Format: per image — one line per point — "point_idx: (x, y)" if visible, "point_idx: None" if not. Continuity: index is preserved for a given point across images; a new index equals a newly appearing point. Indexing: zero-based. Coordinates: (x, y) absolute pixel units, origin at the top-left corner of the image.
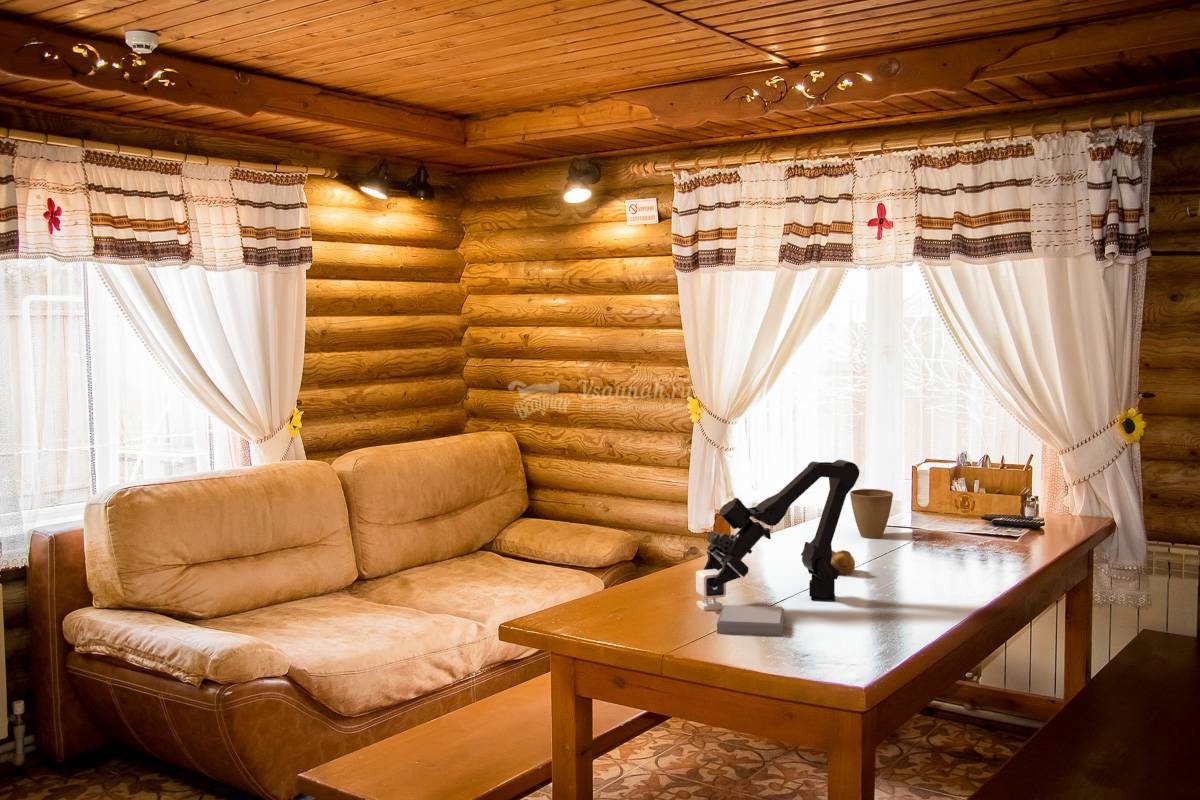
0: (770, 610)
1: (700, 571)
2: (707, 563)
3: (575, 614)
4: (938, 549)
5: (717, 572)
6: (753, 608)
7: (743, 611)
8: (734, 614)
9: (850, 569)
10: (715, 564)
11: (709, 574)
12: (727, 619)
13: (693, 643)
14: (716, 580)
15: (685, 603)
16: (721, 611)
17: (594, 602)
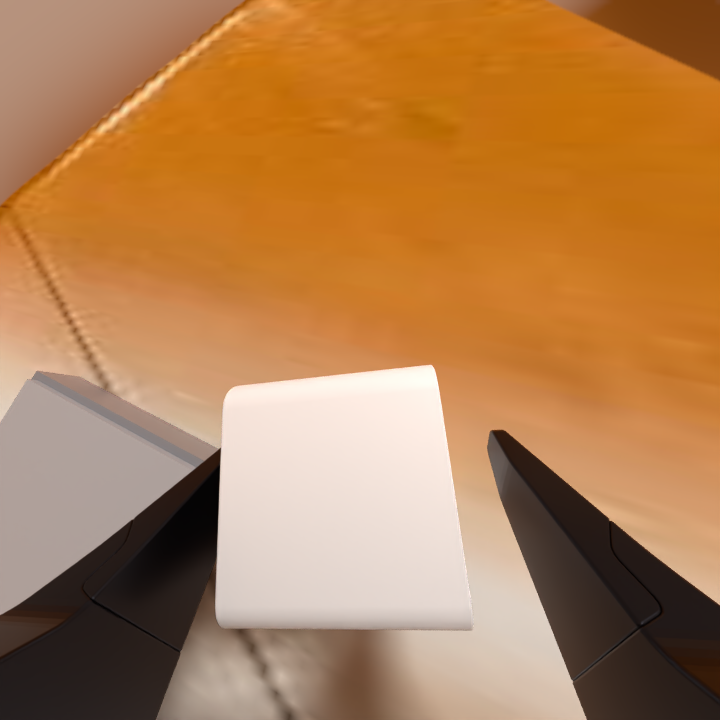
0: None
1: (385, 396)
2: (632, 573)
3: (406, 22)
4: None
5: (293, 568)
6: None
7: (81, 531)
8: (63, 470)
9: None
10: (622, 707)
11: (241, 448)
12: (25, 416)
13: (37, 288)
14: (186, 483)
15: (476, 362)
16: (157, 438)
17: (547, 57)
